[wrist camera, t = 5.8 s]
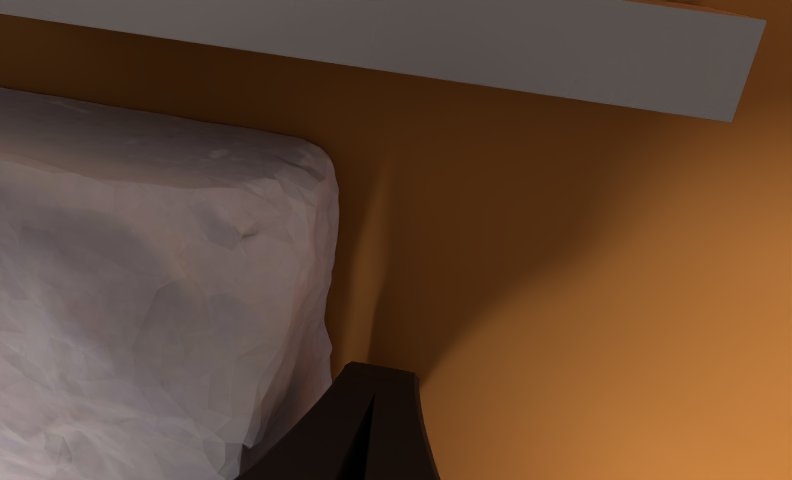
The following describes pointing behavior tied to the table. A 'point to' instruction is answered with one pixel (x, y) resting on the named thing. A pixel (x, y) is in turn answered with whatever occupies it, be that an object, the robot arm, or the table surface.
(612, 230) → the table surface
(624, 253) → the table surface
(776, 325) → the table surface
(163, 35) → the bench stop
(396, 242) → the table surface
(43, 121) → the stone block
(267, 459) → the robot arm
